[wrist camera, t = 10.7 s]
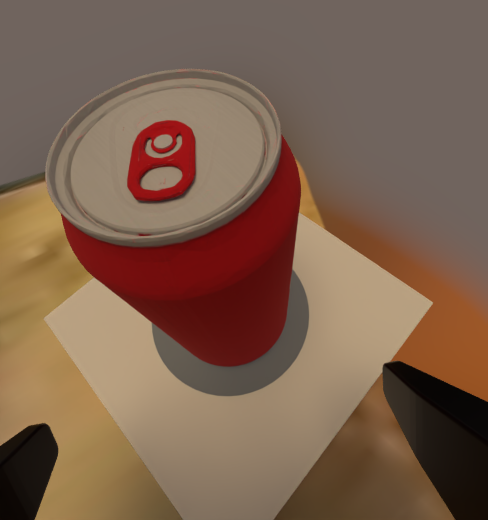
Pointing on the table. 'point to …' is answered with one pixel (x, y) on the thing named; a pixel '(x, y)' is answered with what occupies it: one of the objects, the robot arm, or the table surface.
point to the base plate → (244, 380)
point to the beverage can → (184, 207)
